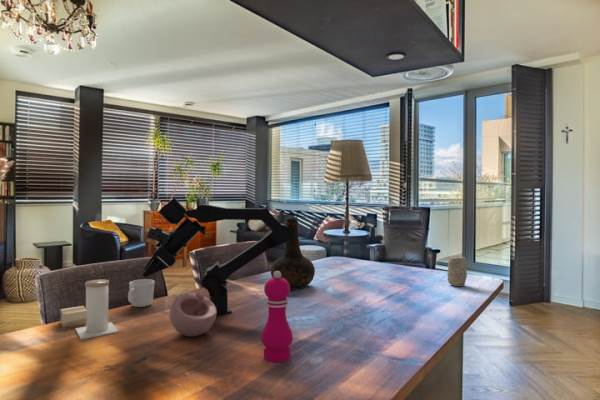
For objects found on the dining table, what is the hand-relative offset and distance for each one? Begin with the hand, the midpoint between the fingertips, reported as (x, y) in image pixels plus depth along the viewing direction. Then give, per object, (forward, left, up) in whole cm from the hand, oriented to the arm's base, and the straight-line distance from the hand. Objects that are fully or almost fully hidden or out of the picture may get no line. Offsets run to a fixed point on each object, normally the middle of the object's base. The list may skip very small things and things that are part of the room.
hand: (144, 273), depth 117 cm
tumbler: (-4, +14, -13) cm, 19 cm away
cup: (+13, -2, -14) cm, 19 cm away
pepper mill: (-47, -16, -14) cm, 52 cm away
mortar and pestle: (-22, -6, -14) cm, 27 cm away
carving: (-34, -115, -14) cm, 121 cm away
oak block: (+8, +18, -14) cm, 24 cm away
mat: (-4, +14, -14) cm, 20 cm away
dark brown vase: (+5, -59, -14) cm, 61 cm away
